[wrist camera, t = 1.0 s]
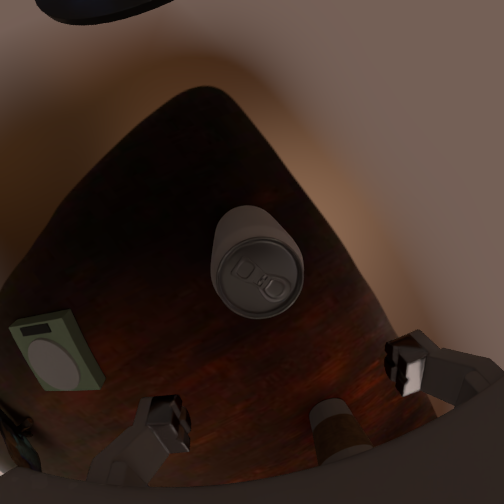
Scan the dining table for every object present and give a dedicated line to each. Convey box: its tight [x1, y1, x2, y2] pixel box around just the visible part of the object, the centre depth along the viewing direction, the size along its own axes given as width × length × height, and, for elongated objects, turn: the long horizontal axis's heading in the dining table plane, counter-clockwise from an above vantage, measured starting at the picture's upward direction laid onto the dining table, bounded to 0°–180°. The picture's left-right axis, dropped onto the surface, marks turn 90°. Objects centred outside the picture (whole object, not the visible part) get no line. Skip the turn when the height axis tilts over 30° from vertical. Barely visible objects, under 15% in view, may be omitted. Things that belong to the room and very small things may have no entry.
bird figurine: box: [0, 409, 42, 472], centre depth 31 cm, size 13×10×20 cm
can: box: [211, 205, 304, 319], centre depth 24 cm, size 6×6×12 cm
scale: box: [9, 309, 106, 391], centre depth 31 cm, size 11×11×3 cm
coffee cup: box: [309, 398, 374, 466], centre depth 32 cm, size 8×8×15 cm
